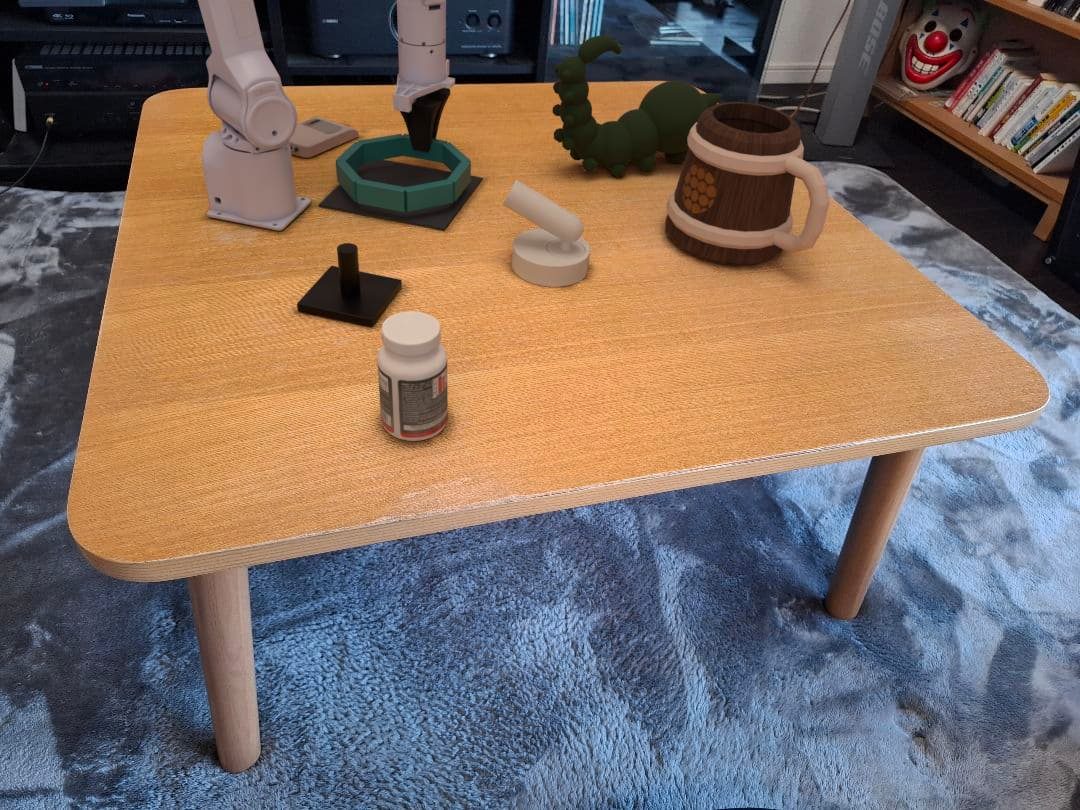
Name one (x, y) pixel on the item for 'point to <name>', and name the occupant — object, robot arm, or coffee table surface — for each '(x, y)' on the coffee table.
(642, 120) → the toy figurine
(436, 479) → the coffee table surface
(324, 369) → the coffee table surface
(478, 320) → the coffee table surface
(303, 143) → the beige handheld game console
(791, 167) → the mug
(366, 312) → the post
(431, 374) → the pill bottle
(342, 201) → the mat
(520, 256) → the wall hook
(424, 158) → the hoop
